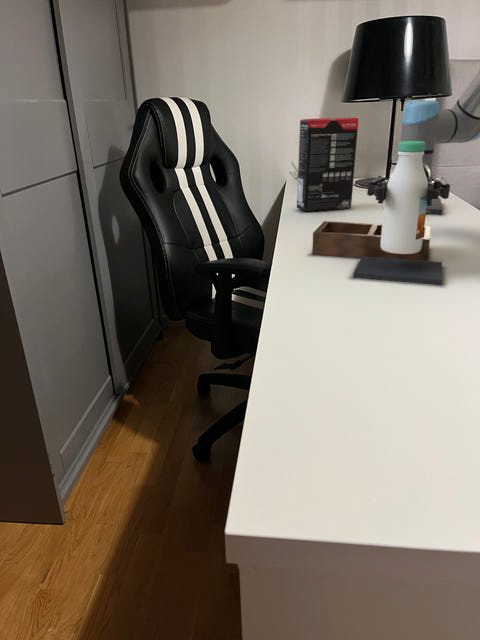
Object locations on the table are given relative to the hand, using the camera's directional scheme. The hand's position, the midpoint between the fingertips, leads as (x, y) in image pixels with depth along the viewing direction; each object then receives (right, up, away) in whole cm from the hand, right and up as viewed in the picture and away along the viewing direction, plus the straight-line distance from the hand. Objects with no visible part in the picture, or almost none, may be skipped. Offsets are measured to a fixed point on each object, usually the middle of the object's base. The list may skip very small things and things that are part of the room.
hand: (405, 196), depth 89 cm
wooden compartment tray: (0, -6, +25) cm, 25 cm away
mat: (+2, -12, +10) cm, 16 cm away
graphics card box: (-2, +13, +72) cm, 73 cm away
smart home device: (+30, +13, +69) cm, 77 cm away
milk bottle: (+2, -8, +9) cm, 12 cm away
